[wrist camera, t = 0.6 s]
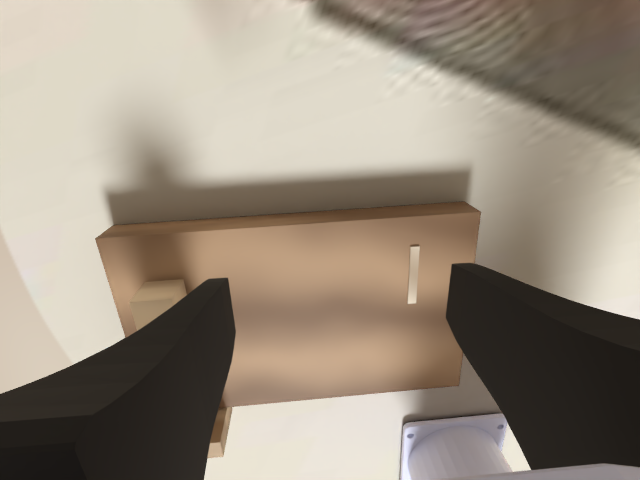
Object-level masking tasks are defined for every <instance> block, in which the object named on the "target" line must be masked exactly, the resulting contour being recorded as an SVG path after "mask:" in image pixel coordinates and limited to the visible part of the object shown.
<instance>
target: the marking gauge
mask: <svg viewBox="0 0 640 480" xmlns="http://www.w3.org/2000/svg"><path fill="white" fill-rule="evenodd" d="M186 295H187V293H186V289H185V284H184V280H183V279H178V280H165V281H152V282H144V284H143V285H142V286H141V288H140V289H139V290H138V291H137V293H136V294H135V295H134V297H133V298H132V299H131V300H130V302H129V304H130V308H131V311H132V315H133V318H134V322H135V325H136V329H137V331H138V330H139V329H141V328H142V327H144V326H145V325H147V324H148V323H150V322H151V321H152V320H154V319H155V318H157V317H158V316H160V315H161V314H162V313H164V312H165V311H167V310H168V309H169V308H171V307H172V306H173V305H175V304H176V303H177V302H179V301H180V300H181V299H182V298H184V297H185V296H186ZM231 413H232V407H225V408H219V409H218V412H217V416H216V420H215V423H214V427H213V431H212V436H211V440H210V446H209V452H208V457H207V458H214V457H223V455H224V450H225V445H226V439H227V434H228V429H229V424H230V418H231Z"/></svg>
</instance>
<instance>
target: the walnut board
mask: <svg viewBox="0 0 640 480" xmlns="http://www.w3.org/2000/svg"><path fill="white" fill-rule="evenodd" d="M480 215H481V212H480V211H479V210H477V209H475V208H474V207H472V206H471V205H469V204H467V203H466V202H450V203H436V204H421V205H406V206H391V207H377V208H362V209H347V210H332V211H318V212H303V213H288V214H273V215H258V216H244V217H229V218H214V219H199V220H185V221H170V222H155V223H140V224H125V225H113V226H112V227H110V228H109V229H108V230H106V231H105V232H104V233H102V234H101V235H100V236H98V237H97V238H95V240H96V243H97V246H98V249H99V253H100V256H101V259H102V262H103V266H104V269H105V272H106V275H107V279H108V282H109V285H110V288H111V292H112V295H113V298H114V301H115V305H116V308H117V311H118V314H119V318H120V321H121V324H122V327H123V331H124V334H125V337H128V336H130V335H131V334H133V333H134V332H136V331H137V329H136V325H135V322H134V318H133V315H132V311H131V308H130V304H129V302H130V300H131V299H132V298H133V297H134V295H135V294H136V293H137V291H138V290H139V289H140V288H141V286H142V285H143V284H144V282H152V281H165V280H178V279H183V280H184V284H185V289H186V293H187V295H188V294H189V293H190V292H191V291H193V290H194V289H195V288H196V287H198V286H199V285H200V284H202V283H203V282H204V281H206V280H207V279H212V278H228V280H229V287H230V294H231V301H232V308H233V315H234V322H235V329H236V335H235V343H234V351H233V358H232V362H231V366H230V370H229V373H228V377H227V381H226V384H225V388H224V391H223V395H222V398H221V402H220V405H219V408H225V407H235V406H246V405H257V404H267V403H278V402H289V401H300V400H310V399H321V398H332V397H342V396H353V395H364V394H375V393H385V392H396V391H407V390H417V389H428V388H439V387H450V386H459V379H460V372H461V364H462V356H463V351H462V350H461V348H460V346H459V345H458V343H457V341H456V339H455V337H454V335H453V333H452V331H451V329H450V326H449V324H448V322H447V320H446V308H447V300H448V291H449V283H450V274H451V266H452V264H456V263H474V262H475V254H476V247H477V239H478V231H479V223H480Z"/></svg>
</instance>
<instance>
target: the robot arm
mask: <svg viewBox="0 0 640 480" xmlns="http://www.w3.org/2000/svg"><path fill="white" fill-rule="evenodd" d="M446 320H447V322H448V324H449V326H450V329H451V331H452V333H453V335H454V337H455V339H456V341H457V343H458V345H459V346H460V348H461V350H462V351H463V353H464V354H465V356H466V357H467V359H468V360H469V362H470V364H471V365H472V367H473V368H474V370H475V371H476V373H477V374H478V376H479V377H480V379H481V380H482V382H483V383H484V385H485V386H486V388H487V389H488V391H489V392H490V394H491V395H492V397H493V398H494V400H495V401H496V403H497V405H498V406H499V408H500V410H501V411H502V413H503V414H490V415H479V416H469V417H459V418H449V419H439V420H428V421H418V422H409V423H406V424H405V425H404V426H403V436H402V454H401V473H400V480H640V320H639V319H635V318H630V317H626V316H622V315H618V314H614V313H611V312H607V311H604V310H600V309H597V308H593V307H590V306H587V305H583V304H580V303H577V302H574V301H571V300H568V299H565V298H562V297H560V296H557V295H554V294H551V293H549V292H546V291H543V290H541V289H538V288H535V287H533V286H530V285H528V284H525V283H523V282H520V281H518V280H516V279H513V278H511V277H508V276H506V275H503V274H501V273H499V272H496V271H494V270H491V269H488V268H486V267H483V266H480V265H477V264H474V263H456V264H452V266H451V274H450V283H449V291H448V300H447V308H446ZM235 335H236V329H235V322H234V315H233V308H232V301H231V294H230V287H229V280H228V278H212V279H207V280H206V281H204V282H203V283H202V284H200V285H199V286H198V287H196V288H195V289H194V290H193V291H191V292H190V293H189V294H188V295H186V296H185V297H184V298H182V299H181V300H180V301H179V302H177V303H176V304H175V305H173V306H172V307H171V308H169V309H168V310H167V311H165V312H164V313H162V314H161V315H160V316H158V317H157V318H155V319H154V320H152V321H151V322H150V323H148V324H147V325H145V326H144V327H142V328H141V329H139V330H138V331H136V332H134V333H133V334H131V335H130V336H128V337H126V338H124V339H123V340H121V341H119V342H117V343H116V344H114V345H112V346H110V347H108V348H107V349H105V350H103V351H101V352H98V353H96V354H94V355H92V356H90V357H88V358H86V359H84V360H82V361H80V362H78V363H76V364H74V365H72V366H70V367H68V368H66V369H63V370H61V371H58V372H56V373H54V374H51V375H49V376H47V377H44V378H42V379H39V380H37V381H34V382H32V383H29V384H26V385H24V386H21V387H18V388H16V389H13V390H10V391H8V392H5V393H2V394H0V480H204V475H205V469H206V463H207V457H208V452H209V446H210V440H211V436H212V431H213V427H214V423H215V420H216V416H217V412H218V409H219V405H220V402H221V398H222V395H223V391H224V388H225V384H226V381H227V377H228V373H229V370H230V366H231V362H232V358H233V351H234V343H235ZM507 422H508V424H509V426H510V428H511V430H512V432H513V434H514V436H515V438H516V440H517V442H518V443H519V445H520V447H521V449H522V452H523V454H524V456H525V458H526V460H527V462H528V464H529V466H530V468H531V470H529V471H518V472H513V471H512V470H511V468H510V466H509V464H508V463H507V461H506V459H505V458H504V456H503V454H502V452H501V451H502V446H503V441H504V436H505V431H506V426H507Z"/></svg>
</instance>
